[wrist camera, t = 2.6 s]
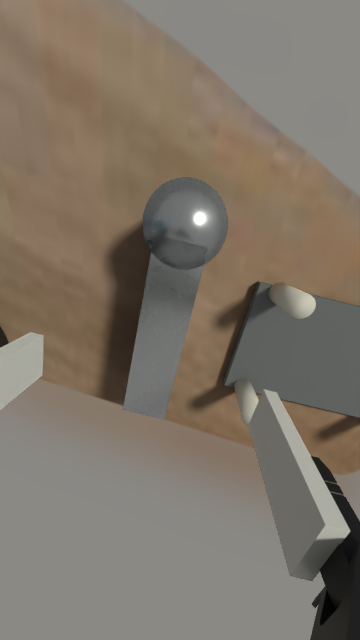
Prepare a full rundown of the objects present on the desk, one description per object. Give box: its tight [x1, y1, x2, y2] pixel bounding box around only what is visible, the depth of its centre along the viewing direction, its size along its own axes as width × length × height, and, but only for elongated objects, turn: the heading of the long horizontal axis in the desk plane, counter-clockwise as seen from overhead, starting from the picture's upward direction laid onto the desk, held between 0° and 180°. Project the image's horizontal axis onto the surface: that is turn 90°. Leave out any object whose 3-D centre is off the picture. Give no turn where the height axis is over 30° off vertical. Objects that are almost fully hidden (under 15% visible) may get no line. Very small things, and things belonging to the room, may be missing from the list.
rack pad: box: [223, 282, 360, 426], centre depth 22 cm, size 20×13×6 cm, turn 77°
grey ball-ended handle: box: [123, 177, 228, 419], centre depth 21 cm, size 20×6×6 cm, turn 167°
